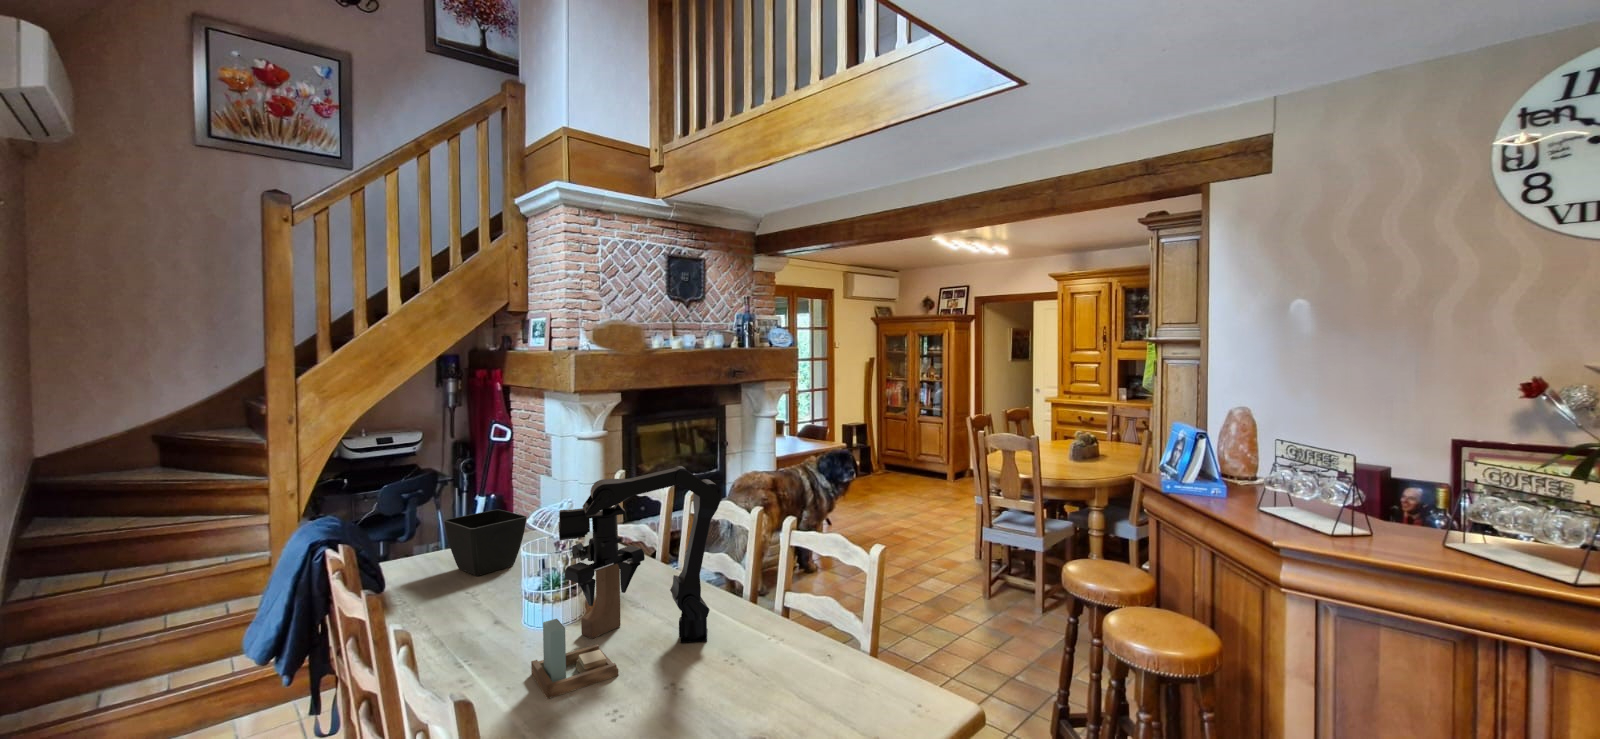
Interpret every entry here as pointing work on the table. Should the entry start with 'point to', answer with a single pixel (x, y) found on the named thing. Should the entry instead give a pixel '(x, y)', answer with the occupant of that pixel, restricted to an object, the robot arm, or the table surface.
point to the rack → (575, 681)
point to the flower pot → (485, 540)
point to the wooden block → (604, 604)
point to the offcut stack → (590, 661)
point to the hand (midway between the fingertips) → (607, 598)
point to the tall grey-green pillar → (554, 650)
